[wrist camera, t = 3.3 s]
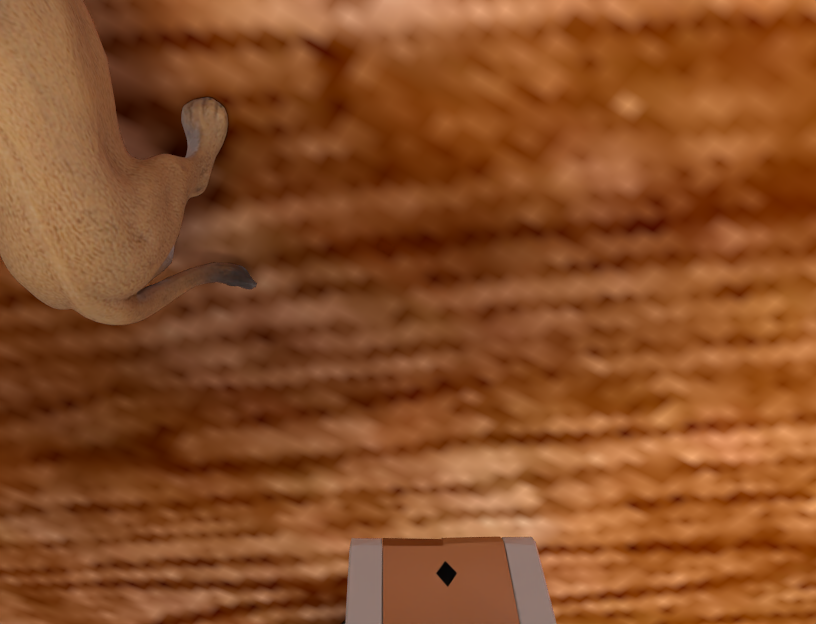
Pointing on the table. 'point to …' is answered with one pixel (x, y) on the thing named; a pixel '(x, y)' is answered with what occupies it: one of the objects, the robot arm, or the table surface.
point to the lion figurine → (91, 175)
